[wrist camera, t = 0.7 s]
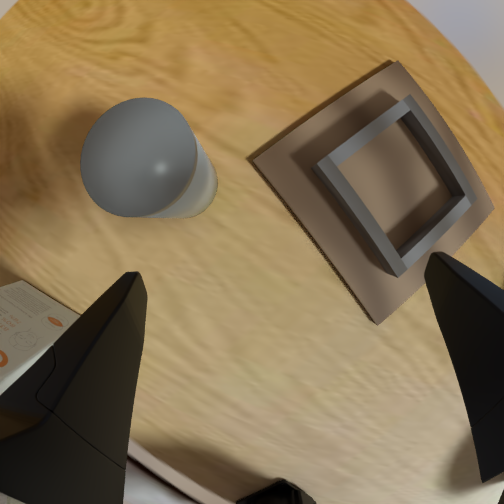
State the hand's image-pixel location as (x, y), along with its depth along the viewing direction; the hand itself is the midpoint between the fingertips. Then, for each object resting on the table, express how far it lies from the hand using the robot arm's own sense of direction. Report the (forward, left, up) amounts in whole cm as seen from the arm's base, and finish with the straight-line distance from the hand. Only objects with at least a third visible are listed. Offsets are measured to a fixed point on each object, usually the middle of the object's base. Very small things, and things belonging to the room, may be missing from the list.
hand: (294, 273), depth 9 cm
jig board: (+11, -3, -15) cm, 18 cm away
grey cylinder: (-2, +7, -15) cm, 16 cm away
